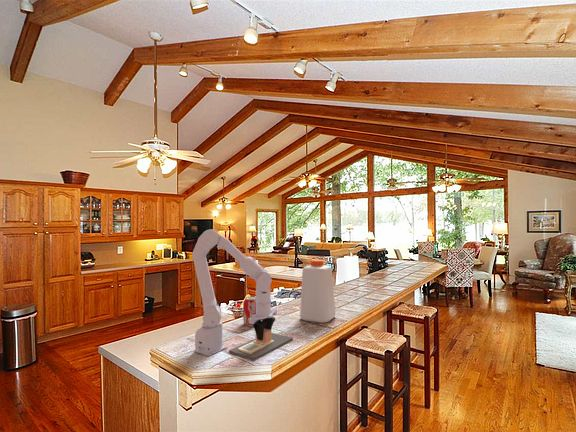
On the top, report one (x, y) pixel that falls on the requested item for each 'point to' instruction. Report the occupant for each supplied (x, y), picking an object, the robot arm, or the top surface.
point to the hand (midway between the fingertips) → (263, 338)
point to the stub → (265, 338)
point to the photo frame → (251, 347)
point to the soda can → (249, 309)
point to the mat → (277, 343)
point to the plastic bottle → (317, 293)
